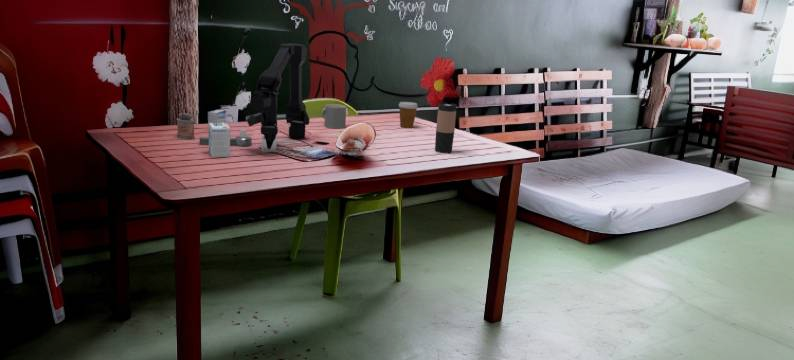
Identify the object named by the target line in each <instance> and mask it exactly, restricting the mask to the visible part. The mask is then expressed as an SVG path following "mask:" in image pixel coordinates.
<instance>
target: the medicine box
mask: <svg viewBox="0 0 794 360" xmlns="http://www.w3.org/2000/svg"><path fill="white" fill-rule="evenodd" d="M207 121H208V122H207V124H208V130H207V131H209V123H227V110H224V109H215V110H211V111H207Z"/></svg>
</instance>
